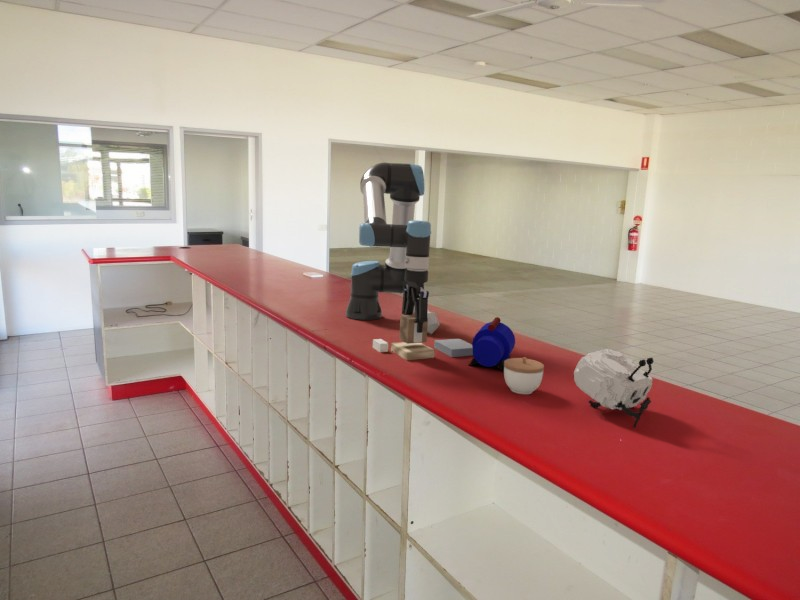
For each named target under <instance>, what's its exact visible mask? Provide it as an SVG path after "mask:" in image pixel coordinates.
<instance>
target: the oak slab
mask: <svg viewBox="0 0 800 600" xmlns="http://www.w3.org/2000/svg"><path fill="white" fill-rule="evenodd" d="M435 350H436V349H435V348H432V347H430V346H428V345H426V344H424V343H423V342H422V343H409V344H407V343H405V342H404V341H399V342H397V341H396V342H391V343H390V351H391V352H392V351H393V352H392V353H394V354H396V355H398V356H399V357H400V358H402V359H404V360H406V361H412V360H413V361H415V360H425V359H434V358H435Z"/></svg>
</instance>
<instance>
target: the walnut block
mask: <svg viewBox="0 0 800 600" xmlns="http://www.w3.org/2000/svg"><path fill="white" fill-rule="evenodd" d="M399 320H400V321H399V338H398V339H399V340H401V342H405V343H407V344H409V343H414V342H413V340H414V321H416V316H415V314H413V315H404V314H400V316H399ZM427 326H428V318H427V322H424V323H423V331H422V342H415V343H422V344H423V343H427V340H428V339H427V337H428V334H427Z"/></svg>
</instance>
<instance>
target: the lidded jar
mask: <svg viewBox="0 0 800 600" xmlns="http://www.w3.org/2000/svg"><path fill="white" fill-rule="evenodd" d="M544 370H545V365H544V364H543V363H542V362H540V361H537V360H534V359H532V358H531V359H530V358H527V357H525V356H523V357H511V359H507V360H505V361H504V371H503V376H504V380H505V383H506V385H507V387H508V388H509V389H510V391H511V392H512V393H515V394H517V395H530V394H533V392H534V391H536V390H537V389H538V388H539V386H540V385H541V383H542V380H543V376H544Z"/></svg>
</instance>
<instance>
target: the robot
mask: <svg viewBox="0 0 800 600" xmlns="http://www.w3.org/2000/svg"><path fill="white" fill-rule="evenodd" d="M654 362H655V361H654V358H653V357H648V358H646V359H641V360H639V361H638V364H639V365H637V364H636V363H634V360H633V359H631V358H627V357H626V356H624V354H623V353H622V352H621V351H618V350H614V349H611V348H609V349H608V348H604V349H601V350H597V351H593V352H592V351H591V352H589V353H587V354H586V355H585V356H582V357H581V358H580V359H579V361H578V362H577V364H576V366H575V369H574V371H573V375H574V376H573V377H574V379H573V381H574V382H575V385H576V387H578V388H579V390H581V391H582V392H583V393H584V394H586V395H587V396H589V397H590V398H591V399H593V400H594V401H592V400H589V401H588V403H589V404H590V407H591V408H593V409H598V408H599V407H601V406H602V407H603V408H607V409H610V410H616V409H617V410H619V411H622V412H624V413H625V414H626V415H628V416H629V417H633V418H635V421H634V423H633V424H632V427H633V428H634V429H635V428H636V427H637V424H638V422H639V421H640V418H641V416H642V414H643V412H644V410H647V409H648V408H649V405H650V404H651V403H652V400H651V399H650V397H649V396H648V393H649V392H650V391H651V388H652V386H653V381H654V380H653V377H652V376H650V373H651V371H652V365H653V363H654ZM646 365H647V366H648V370H647V371H644V370H643V369H641V368H642V367H645V366H646ZM639 404H640V407H639V408H638V411H639V412H636V411H632V410H631V408H634V407H636V406H638V405H639Z"/></svg>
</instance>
